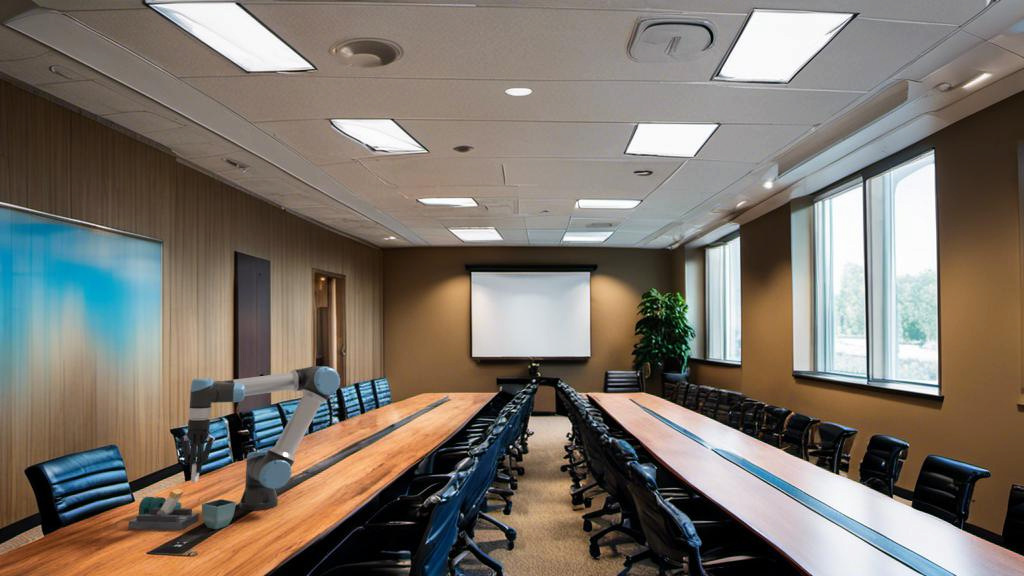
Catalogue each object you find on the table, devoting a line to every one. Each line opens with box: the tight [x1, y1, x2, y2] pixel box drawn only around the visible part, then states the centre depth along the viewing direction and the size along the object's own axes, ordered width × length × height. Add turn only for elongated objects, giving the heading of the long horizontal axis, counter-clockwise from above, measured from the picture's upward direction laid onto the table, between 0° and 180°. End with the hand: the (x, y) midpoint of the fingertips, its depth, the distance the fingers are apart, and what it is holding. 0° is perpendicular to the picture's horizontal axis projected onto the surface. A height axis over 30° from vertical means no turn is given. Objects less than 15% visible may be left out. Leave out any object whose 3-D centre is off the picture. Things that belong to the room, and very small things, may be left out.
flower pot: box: [201, 498, 237, 530], centre depth 230 cm, size 9×9×9 cm
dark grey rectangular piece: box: [136, 508, 193, 522], centre depth 231 cm, size 15×11×2 cm
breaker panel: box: [127, 512, 200, 531], centre depth 231 cm, size 20×12×3 cm, turn 90°
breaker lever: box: [156, 487, 185, 515], centre depth 231 cm, size 3×6×10 cm
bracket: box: [138, 496, 182, 515], centre depth 247 cm, size 18×7×8 cm, turn 172°
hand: (194, 481), depth 232 cm, fingers closed
